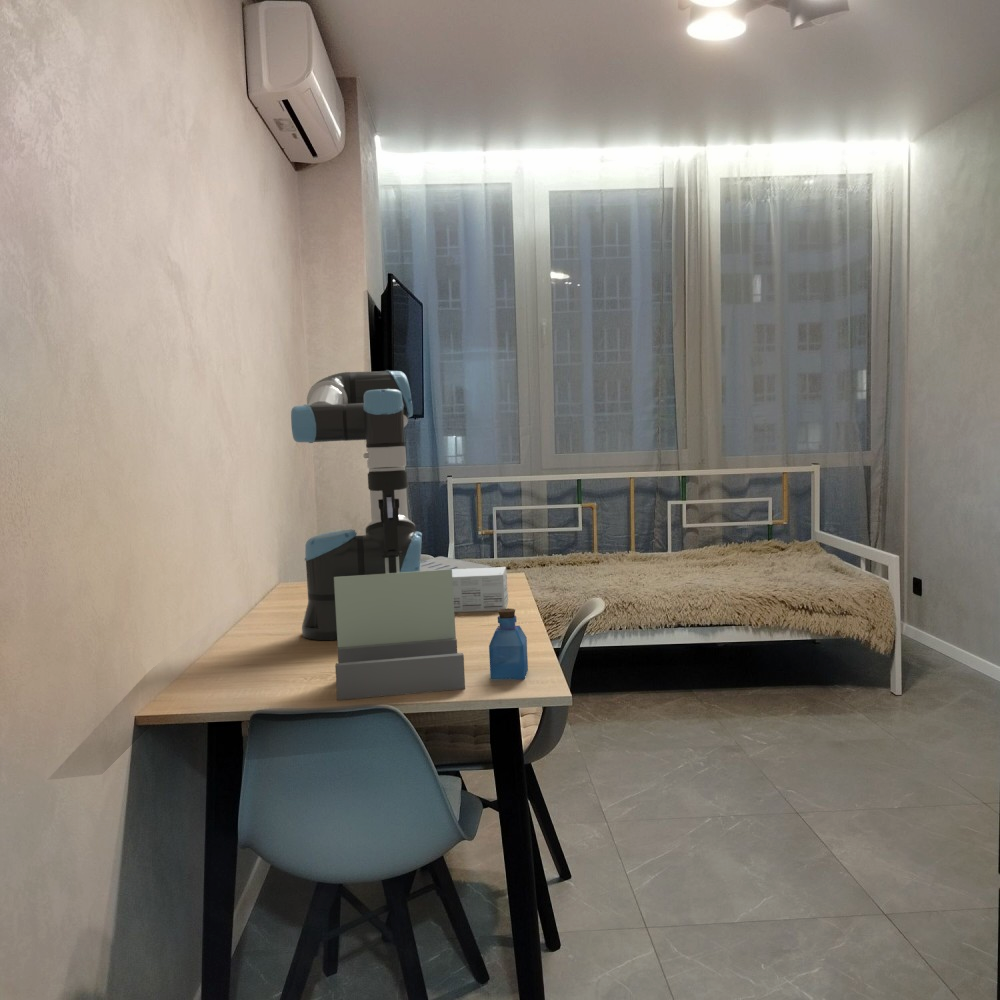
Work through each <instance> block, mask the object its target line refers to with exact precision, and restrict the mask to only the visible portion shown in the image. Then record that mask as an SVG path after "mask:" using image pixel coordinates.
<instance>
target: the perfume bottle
mask: <svg viewBox="0 0 1000 1000" xmlns="http://www.w3.org/2000/svg"><path fill="white" fill-rule="evenodd" d="M497 612H498V615H499V616H497V623H498V624H499V625H498V626H497V627H496V629H495V630H494V633H493V636H492V638H491V641H490V642H489V646H488V652H489V673H490V674H489V677H490V680H491V679H492V680H525V679H526V677H525V676H527V674H528V671H529V666H528V665H529V661H528V642H527V641H528V640H527V636H526V634H525V632H524V631H523V629H522V627H521V626H520V625H516V623H517V616H516V615H515V614H516V609H515V608H507V607H506V608H505V609H500V610H498V611H497Z"/></svg>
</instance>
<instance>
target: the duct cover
mask: <svg viewBox="0 0 1000 1000" xmlns="http://www.w3.org/2000/svg"><path fill="white" fill-rule="evenodd" d="M334 589H335V607H336V624H337V648H338V647H351V646H363V645H376V644H388V643H401V642H413V641H426V640H438V639H450V638H456V639H457V637H456V636H457V633H456V620H455V619H456V617H455V612H454V597H453V580H452V569H445V570H430V571H415V572H401V573H386V574H371V575H357V576H342V577H334Z"/></svg>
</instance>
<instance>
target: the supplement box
mask: <svg viewBox="0 0 1000 1000" xmlns="http://www.w3.org/2000/svg"><path fill="white" fill-rule="evenodd" d="M452 580H453V597H454V613H466V612H492V611H493V612H494V611H496V612H498V610H500V609H507V605H508V602H509V596H508V595H509V593H508V592H509V591H508V573H507V566H500V567H499V566H498V567H497V566H496V567H495V566H493V568H471V569H452Z"/></svg>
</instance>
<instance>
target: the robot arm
mask: <svg viewBox="0 0 1000 1000" xmlns="http://www.w3.org/2000/svg"><path fill="white" fill-rule="evenodd" d="M409 383H410V382H409V379H408V377H407V375H406V373H404V372H403V371H401V370H389V369H386V370H380V371H379V370H378V371H345V372H339V373H334V374H332V375H328V376H326V377H324V378H322V379H320V380H318V381H317V382H316V383H314V384H313V385H312V386H311V387H310V388H309V391H308V393H307V396H306V404H302V405H296V406H295V405H294V406H293V407H292V408H291V411H290V421H291V424H290V425H291V434H292V438H293V440H294V442H297V443H307V444H313V443H326V442H340V441H342V442H343V441H345V442H346V441H365V442H366V445H365V447H366V452H364V453H363V458H364V459H367V460H366V463H367V468H368V472H367V485H368V487H367V488H368V490H369V493H370V494H369V495H370V496H369V497H370V513H371V514H370V516H371V517H370V518H371V521H370V522H369V523H368V524H367V525H366V527H365V534H363V535H362V534H361V535H357V532H356V530H355V529H351V528H349V529H342V530H336V531H332V532H331V531H330V532H326V533H322V534H319V535H318V534H317V535H315V536H312V537H310V538H308V539H307V541H306V543H305V547H304V548H305V553H304V554H305V555H304V556H305V557H304V562H305V567H306V585H307V586H306V587H307V606H306V610H305V612H304V613H305V614H304V618H303V621H302V625H301V626H302V627H301V634H302V637H303V638H305V639H308V640H315V641H335V640H337V624H336V607H335V589H334V577H342V576H357V575H371V574H386V573H401V572H415V571H420V562H421V557H422V556H421V555H422V539H423V538H422V537H423V532H420V531H419V530H416V524H415V523H414V522H413V521H411V520H410V518H409V512H408V499H407V497H408V496H407V488H408V477H407V476H408V474H407V473H408V472H407V471H406V466H407V454H406V453H407V451H406V443H405V427H406V426H407V425H408V423H409V420H408V419H409V418H411V417H413V415H414V405H413V400H412V393H411V388H410V387H411V386H410V384H409Z"/></svg>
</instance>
